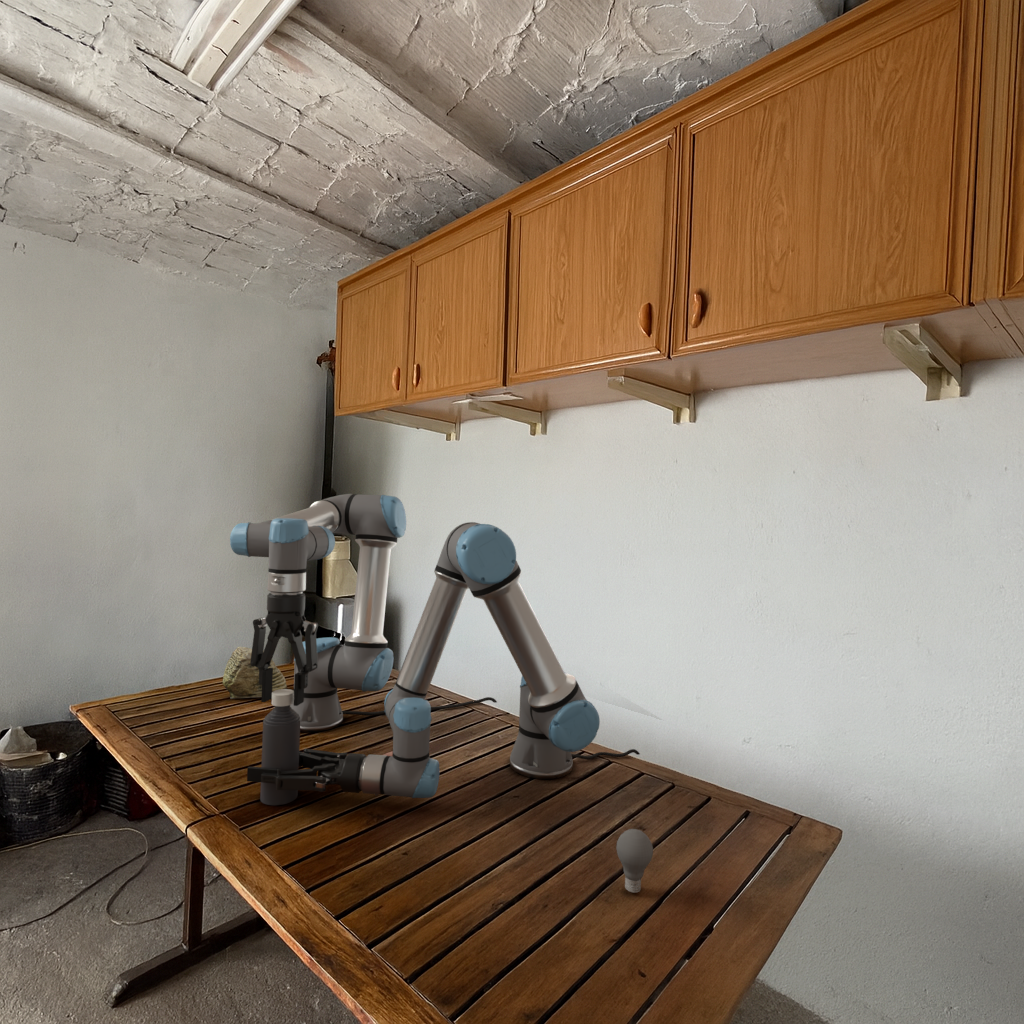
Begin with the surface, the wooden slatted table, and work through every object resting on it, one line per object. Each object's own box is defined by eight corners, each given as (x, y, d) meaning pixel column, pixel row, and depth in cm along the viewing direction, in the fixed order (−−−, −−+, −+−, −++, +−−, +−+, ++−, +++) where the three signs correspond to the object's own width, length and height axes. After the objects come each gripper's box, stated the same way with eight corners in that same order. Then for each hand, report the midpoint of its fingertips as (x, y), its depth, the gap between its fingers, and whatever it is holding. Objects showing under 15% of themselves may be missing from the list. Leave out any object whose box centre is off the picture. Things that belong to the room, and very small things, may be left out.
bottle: (278, 808, 128) (282, 702, 128) (252, 799, 131) (256, 695, 131) (305, 794, 135) (309, 693, 134) (279, 786, 138) (283, 687, 137)
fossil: (218, 695, 195) (220, 647, 195) (278, 685, 208) (279, 640, 207) (228, 703, 189) (230, 653, 188) (289, 692, 201) (290, 645, 201)
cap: (294, 699, 135) (295, 688, 135) (292, 706, 131) (292, 695, 131) (272, 700, 134) (273, 689, 134) (270, 706, 130) (270, 695, 130)
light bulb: (610, 879, 108) (613, 822, 108) (644, 879, 109) (647, 822, 109) (619, 902, 102) (622, 840, 102) (655, 901, 103) (658, 840, 103)
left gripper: (233, 591, 130) (229, 702, 131) (321, 598, 127) (317, 712, 127) (254, 586, 138) (250, 692, 138) (338, 593, 134) (334, 701, 134)
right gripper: (347, 815, 121) (232, 806, 123) (377, 770, 142) (278, 763, 143) (348, 776, 121) (233, 768, 123) (378, 737, 142) (279, 730, 143)
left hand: (282, 701), depth 133 cm, fingers open, 7 cm apart
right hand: (257, 765), depth 133 cm, fingers closed on bottle, 7 cm apart
